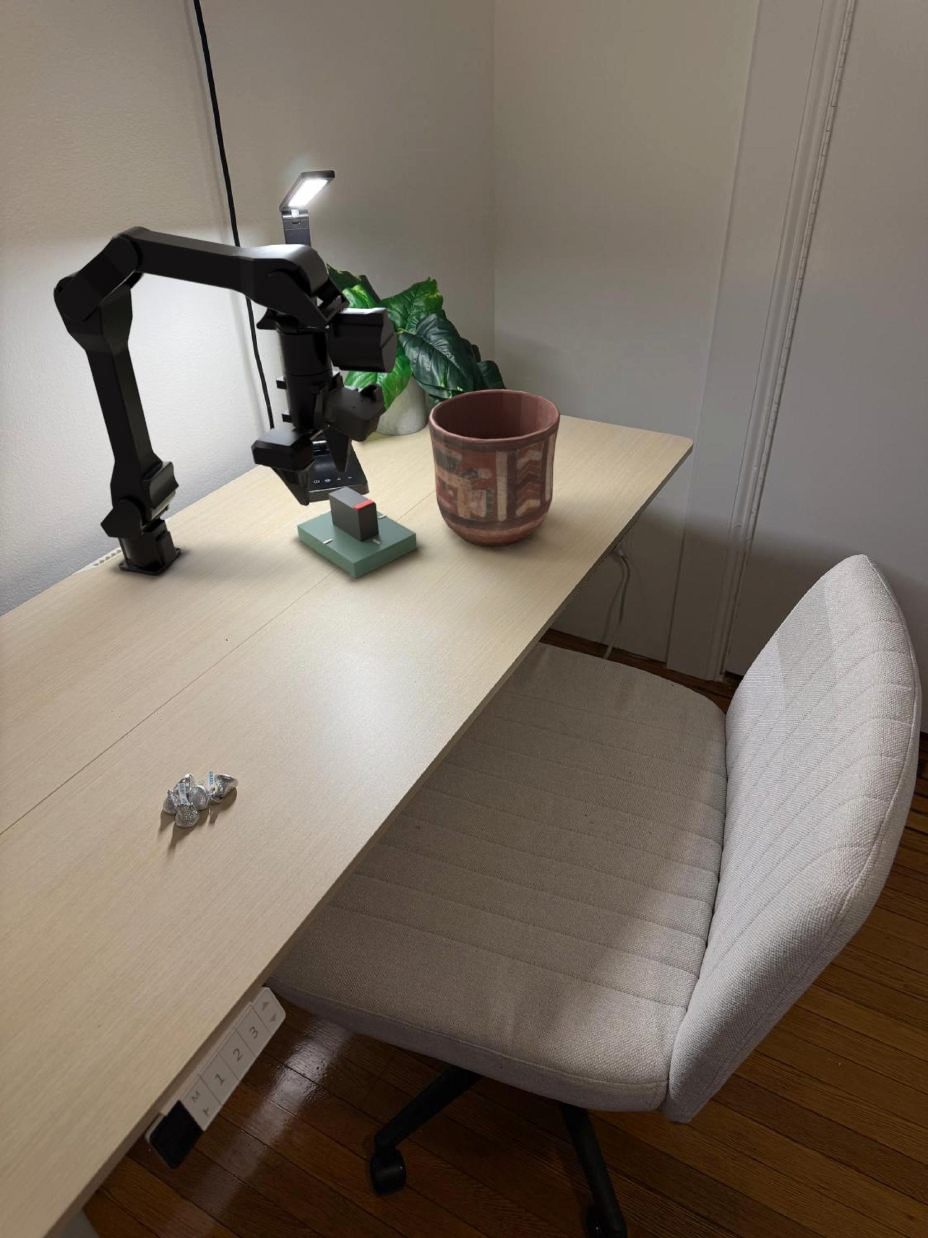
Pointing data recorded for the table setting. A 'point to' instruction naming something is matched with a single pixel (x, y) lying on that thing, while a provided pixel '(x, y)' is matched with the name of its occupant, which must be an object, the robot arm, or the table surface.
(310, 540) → the green flat block
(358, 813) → the table surface
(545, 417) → the pottery
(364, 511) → the block
